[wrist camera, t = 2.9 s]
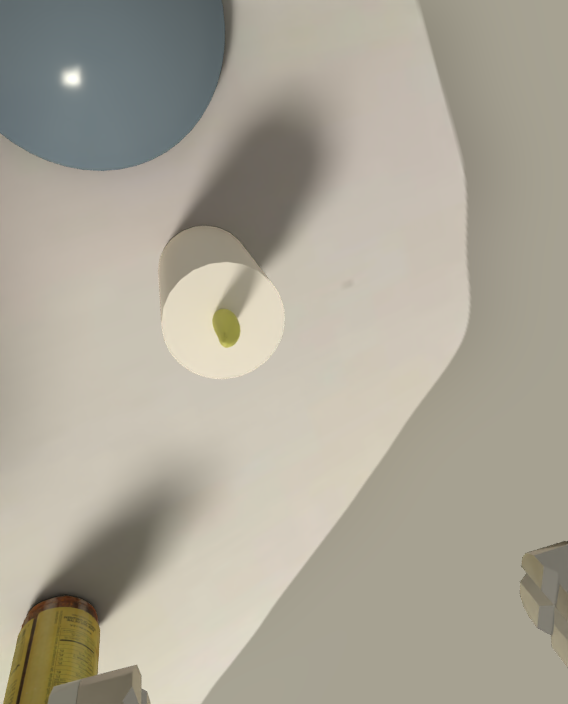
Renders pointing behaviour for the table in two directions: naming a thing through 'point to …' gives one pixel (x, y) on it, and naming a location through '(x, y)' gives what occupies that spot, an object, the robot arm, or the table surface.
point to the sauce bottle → (53, 649)
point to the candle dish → (106, 76)
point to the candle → (217, 304)
